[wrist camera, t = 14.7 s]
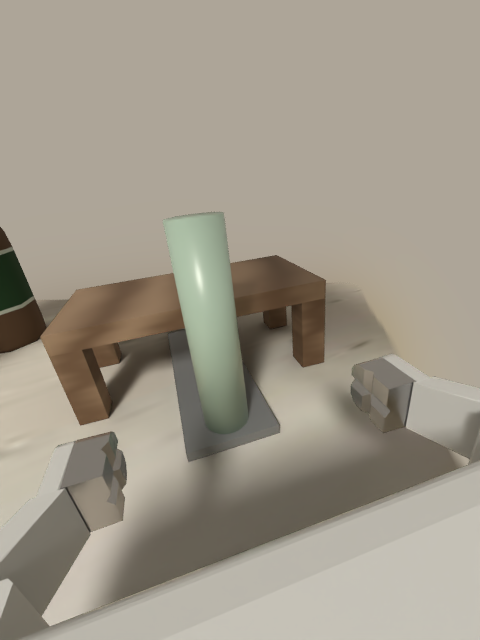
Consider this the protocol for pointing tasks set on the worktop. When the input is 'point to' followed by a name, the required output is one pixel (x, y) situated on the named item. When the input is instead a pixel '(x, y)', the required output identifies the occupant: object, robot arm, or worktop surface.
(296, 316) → the bench
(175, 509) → the worktop surface
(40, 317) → the beer bottle
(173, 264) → the cylinder
